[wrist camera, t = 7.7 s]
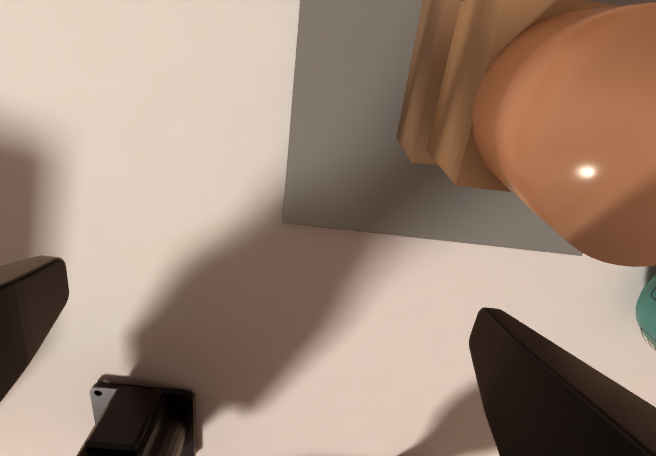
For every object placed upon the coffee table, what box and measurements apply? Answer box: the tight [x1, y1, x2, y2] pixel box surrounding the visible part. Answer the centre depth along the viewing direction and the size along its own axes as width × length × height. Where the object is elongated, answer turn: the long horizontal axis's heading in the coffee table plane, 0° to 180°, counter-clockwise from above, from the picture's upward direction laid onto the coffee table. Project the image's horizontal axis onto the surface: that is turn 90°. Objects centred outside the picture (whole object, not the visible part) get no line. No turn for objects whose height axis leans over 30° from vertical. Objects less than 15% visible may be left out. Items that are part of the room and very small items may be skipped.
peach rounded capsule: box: [472, 2, 656, 267], centre depth 9 cm, size 5×5×4 cm
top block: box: [427, 0, 619, 192], centre depth 13 cm, size 5×5×4 cm
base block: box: [396, 0, 464, 165], centre depth 17 cm, size 6×6×4 cm
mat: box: [282, 0, 656, 256], centre depth 19 cm, size 16×16×1 cm
